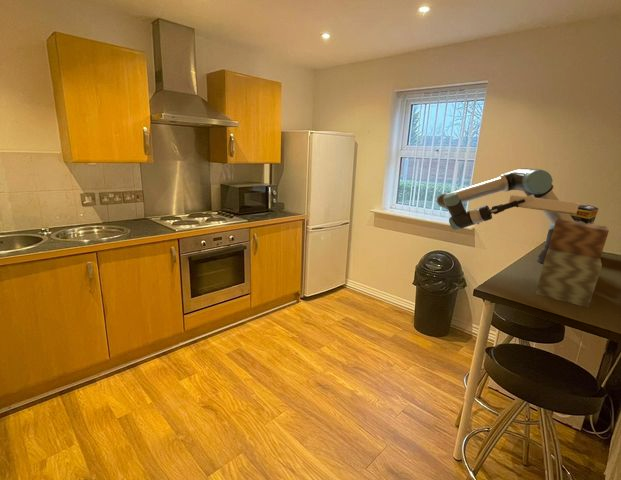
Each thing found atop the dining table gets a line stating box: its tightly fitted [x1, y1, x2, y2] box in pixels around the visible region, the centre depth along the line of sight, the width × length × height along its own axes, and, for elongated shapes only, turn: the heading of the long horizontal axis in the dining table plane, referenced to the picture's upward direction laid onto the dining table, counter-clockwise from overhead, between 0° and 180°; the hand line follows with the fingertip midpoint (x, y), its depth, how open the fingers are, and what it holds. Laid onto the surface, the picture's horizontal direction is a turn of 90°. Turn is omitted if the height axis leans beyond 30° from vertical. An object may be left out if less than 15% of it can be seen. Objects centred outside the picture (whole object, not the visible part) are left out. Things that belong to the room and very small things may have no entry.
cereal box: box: [570, 204, 599, 225], centre depth 212 cm, size 27×11×32 cm, turn 132°
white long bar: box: [508, 194, 580, 215], centre depth 153 cm, size 26×4×5 cm, turn 52°
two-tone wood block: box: [535, 219, 610, 308], centre depth 145 cm, size 18×26×30 cm
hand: (533, 197), depth 154 cm, fingers closed on white long bar, 4 cm apart
